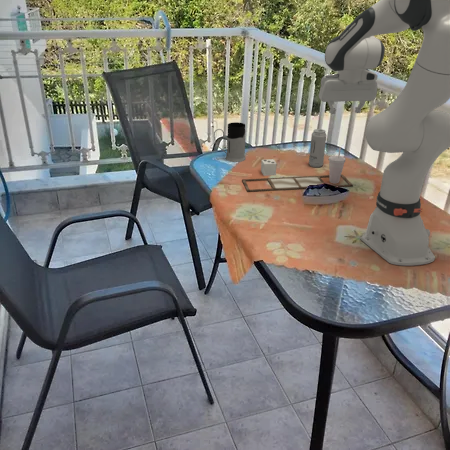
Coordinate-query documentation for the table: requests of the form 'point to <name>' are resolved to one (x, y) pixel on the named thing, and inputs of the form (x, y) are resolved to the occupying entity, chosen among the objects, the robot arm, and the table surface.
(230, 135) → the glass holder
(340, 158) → the smoothie
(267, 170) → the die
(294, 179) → the board
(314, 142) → the energy drink can
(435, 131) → the robot arm
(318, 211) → the table surface
